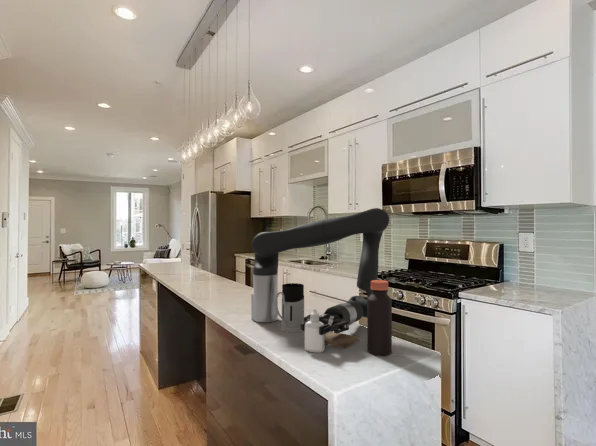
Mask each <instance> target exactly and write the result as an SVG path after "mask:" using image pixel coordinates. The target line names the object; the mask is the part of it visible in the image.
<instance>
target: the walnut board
mask: <svg viewBox="0 0 596 446" xmlns="http://www.w3.org/2000/svg"><path fill="white" fill-rule="evenodd" d="M359 340H360V337H359V336H354V335H351V334H346V333H343V332H340V333H337V334H336V333H334V331H333V332H332V333H329V332H328V333H326V334H325V345H328V346H332V347H337V348H341V349H347V348H349V347H350V346H352V345H354V344H355V343H357V342H358V341H359Z"/></svg>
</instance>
